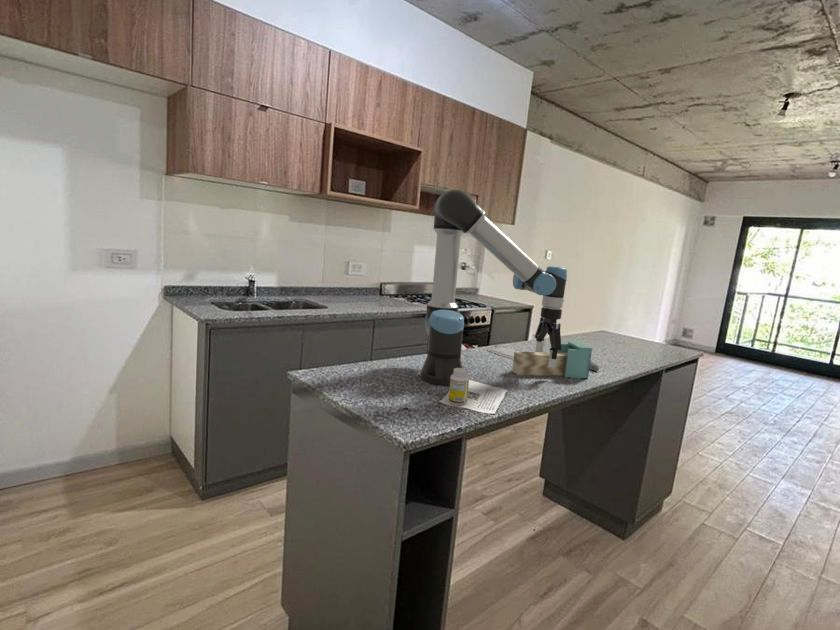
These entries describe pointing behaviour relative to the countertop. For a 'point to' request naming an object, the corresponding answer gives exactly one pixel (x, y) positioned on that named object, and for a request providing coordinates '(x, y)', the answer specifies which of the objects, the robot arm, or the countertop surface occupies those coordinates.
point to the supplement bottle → (458, 387)
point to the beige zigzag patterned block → (538, 363)
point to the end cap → (576, 359)
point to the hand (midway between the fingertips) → (544, 362)
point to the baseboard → (504, 352)
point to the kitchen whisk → (593, 366)
